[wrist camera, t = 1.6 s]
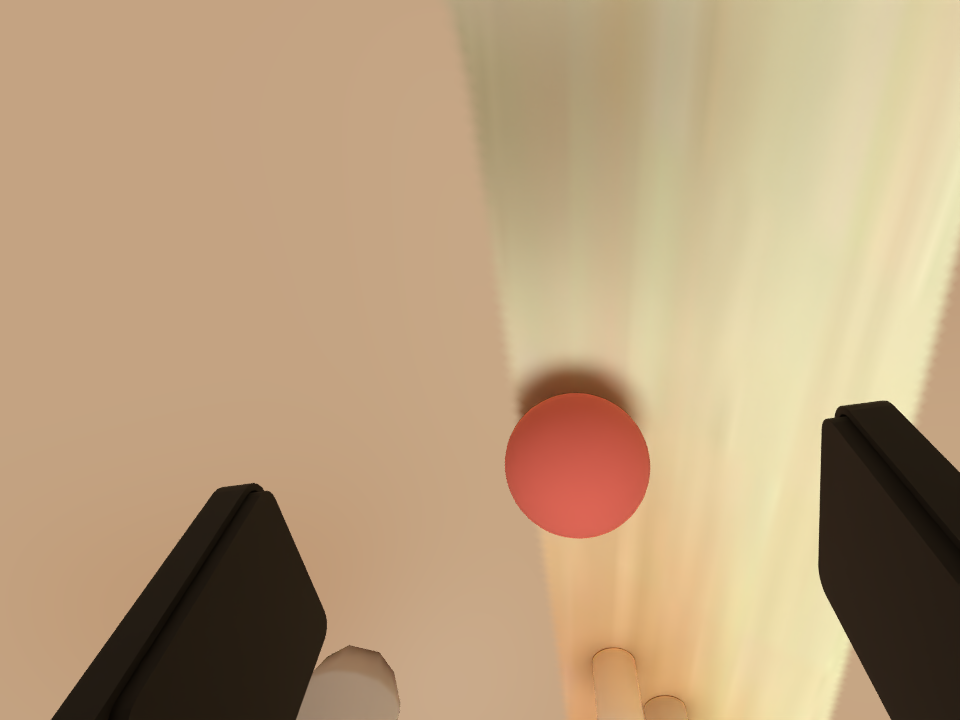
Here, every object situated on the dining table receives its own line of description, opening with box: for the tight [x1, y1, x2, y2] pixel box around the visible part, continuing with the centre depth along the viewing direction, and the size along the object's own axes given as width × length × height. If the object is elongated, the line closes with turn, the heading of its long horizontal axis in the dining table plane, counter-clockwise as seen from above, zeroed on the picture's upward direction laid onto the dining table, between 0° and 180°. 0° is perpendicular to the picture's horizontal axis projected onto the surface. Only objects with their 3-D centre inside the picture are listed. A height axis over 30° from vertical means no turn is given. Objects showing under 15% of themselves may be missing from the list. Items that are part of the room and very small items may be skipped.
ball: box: [505, 393, 650, 538], centre depth 27 cm, size 6×6×6 cm
